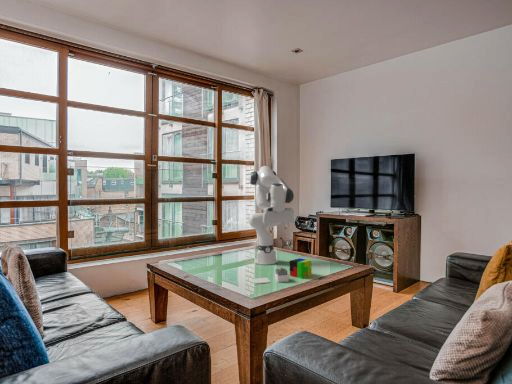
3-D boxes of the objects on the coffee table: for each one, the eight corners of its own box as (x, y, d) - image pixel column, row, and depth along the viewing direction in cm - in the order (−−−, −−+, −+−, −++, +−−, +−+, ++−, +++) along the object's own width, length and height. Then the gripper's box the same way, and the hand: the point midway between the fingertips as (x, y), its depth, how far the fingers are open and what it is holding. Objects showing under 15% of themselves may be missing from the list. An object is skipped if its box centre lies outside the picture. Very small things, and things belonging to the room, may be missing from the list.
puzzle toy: (300, 272, 226) (299, 258, 226) (311, 275, 218) (311, 260, 218) (290, 275, 219) (289, 260, 219) (301, 278, 212) (301, 263, 212)
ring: (275, 273, 211) (275, 269, 211) (284, 272, 213) (284, 268, 212) (278, 275, 205) (278, 271, 205) (287, 274, 207) (287, 270, 207)
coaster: (251, 279, 212) (251, 278, 212) (266, 278, 214) (266, 277, 214) (254, 284, 203) (254, 283, 203) (270, 282, 205) (270, 281, 204)
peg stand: (274, 279, 212) (274, 266, 212) (285, 278, 213) (285, 266, 213) (277, 282, 205) (277, 269, 205) (288, 281, 206) (288, 268, 206)
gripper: (291, 207, 220) (292, 228, 220) (261, 208, 216) (262, 230, 216) (294, 207, 214) (295, 229, 213) (263, 209, 210) (264, 231, 209)
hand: (278, 229), depth 214 cm, fingers open, 8 cm apart
